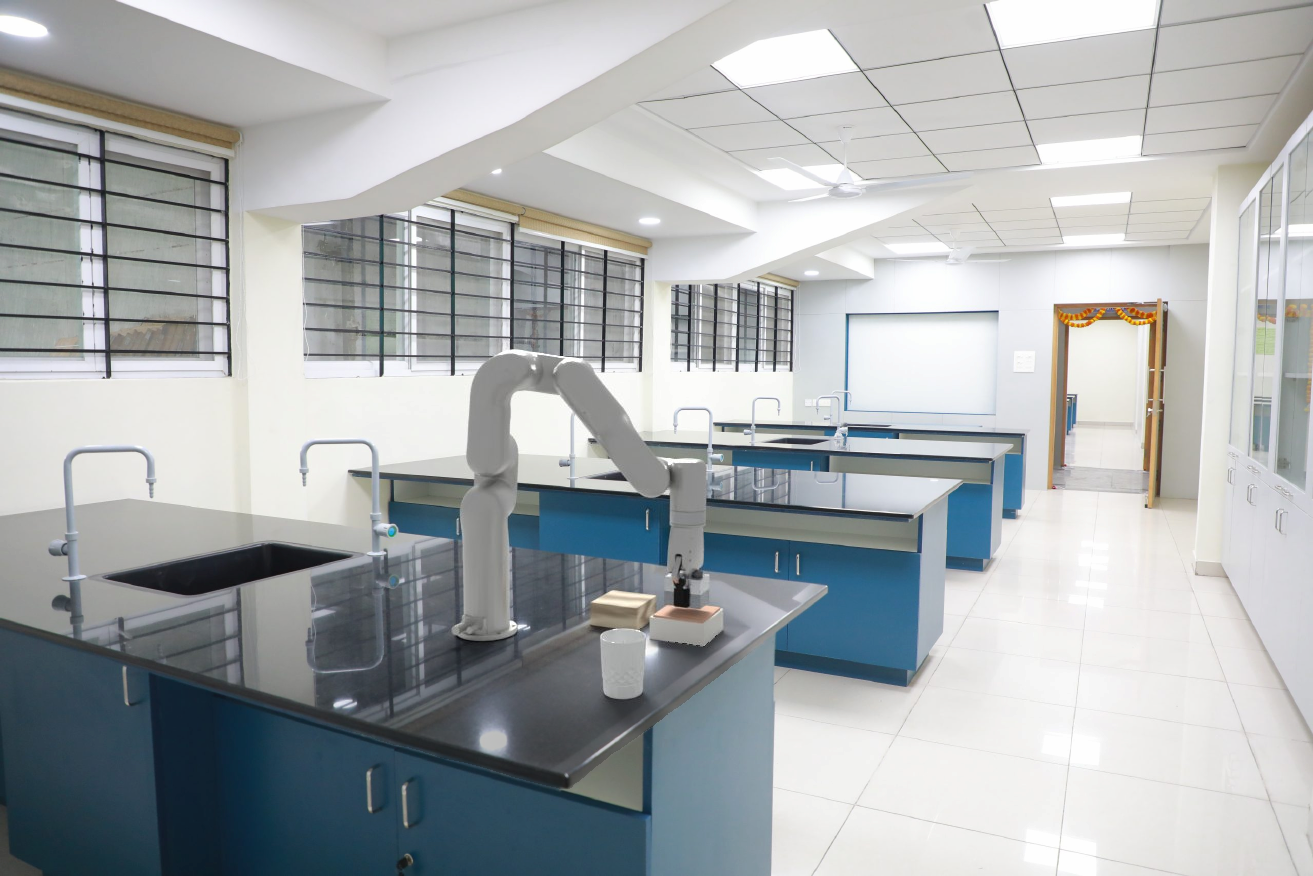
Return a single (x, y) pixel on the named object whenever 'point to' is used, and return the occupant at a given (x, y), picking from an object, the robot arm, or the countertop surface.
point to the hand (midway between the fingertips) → (686, 602)
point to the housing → (690, 589)
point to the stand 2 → (686, 624)
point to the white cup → (623, 662)
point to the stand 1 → (623, 610)
